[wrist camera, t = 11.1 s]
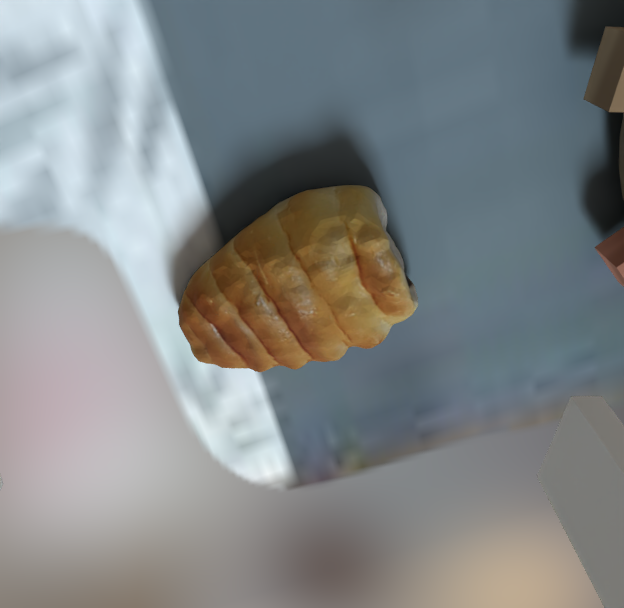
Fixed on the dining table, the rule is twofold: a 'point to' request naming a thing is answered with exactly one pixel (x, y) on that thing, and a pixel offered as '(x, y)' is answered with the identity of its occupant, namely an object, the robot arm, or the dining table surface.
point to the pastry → (299, 284)
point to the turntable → (620, 98)
